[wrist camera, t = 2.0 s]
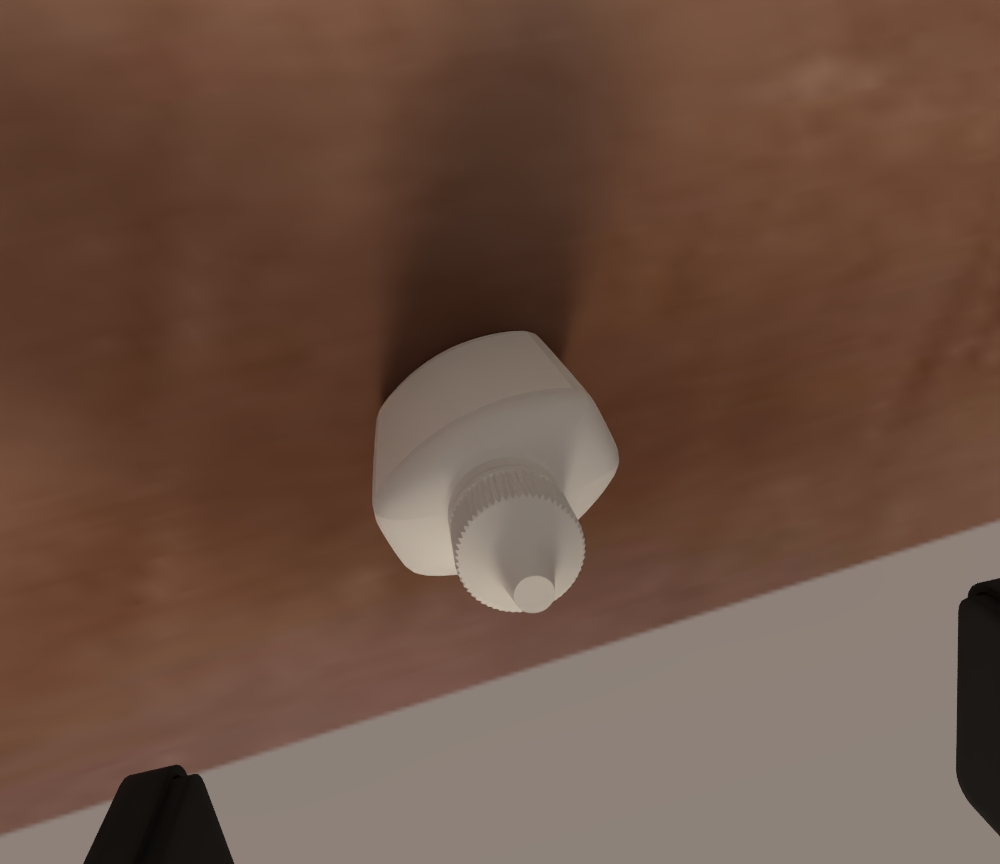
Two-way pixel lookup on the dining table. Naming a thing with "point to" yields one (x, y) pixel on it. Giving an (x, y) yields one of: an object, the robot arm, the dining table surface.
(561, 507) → the eye dropper bottle
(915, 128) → the dining table surface
